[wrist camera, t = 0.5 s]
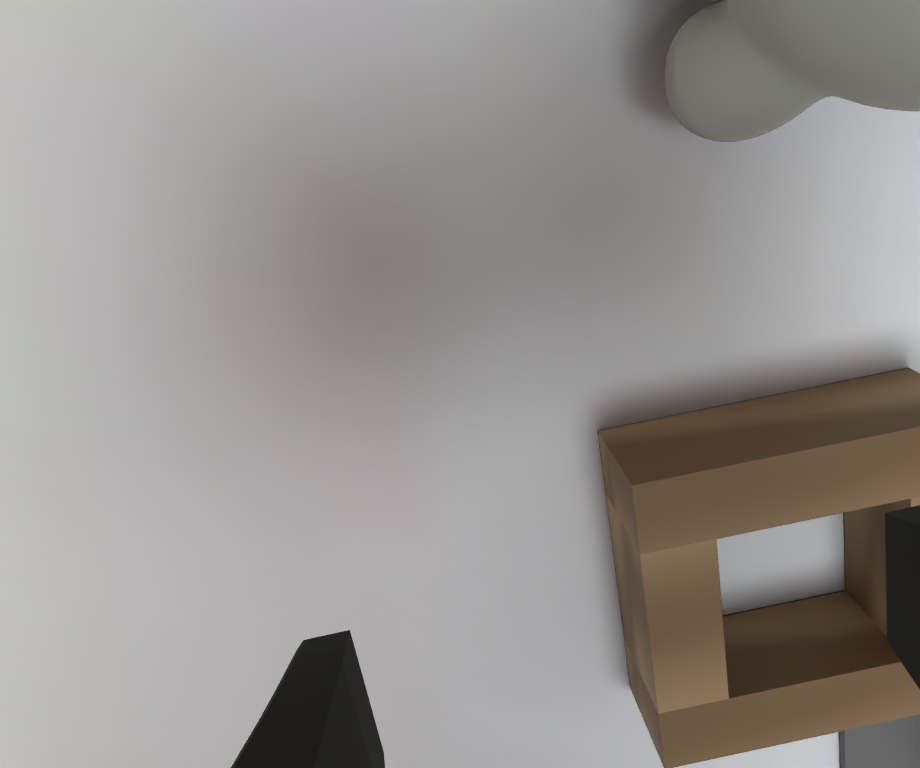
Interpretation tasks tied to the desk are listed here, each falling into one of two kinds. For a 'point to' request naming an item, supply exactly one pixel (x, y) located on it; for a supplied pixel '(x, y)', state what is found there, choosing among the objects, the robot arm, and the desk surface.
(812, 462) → the hole block
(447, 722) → the desk surface
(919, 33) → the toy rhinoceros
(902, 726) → the mat
